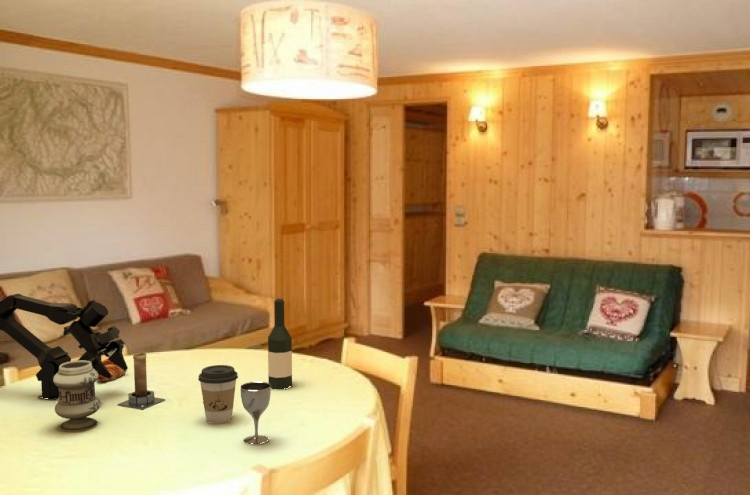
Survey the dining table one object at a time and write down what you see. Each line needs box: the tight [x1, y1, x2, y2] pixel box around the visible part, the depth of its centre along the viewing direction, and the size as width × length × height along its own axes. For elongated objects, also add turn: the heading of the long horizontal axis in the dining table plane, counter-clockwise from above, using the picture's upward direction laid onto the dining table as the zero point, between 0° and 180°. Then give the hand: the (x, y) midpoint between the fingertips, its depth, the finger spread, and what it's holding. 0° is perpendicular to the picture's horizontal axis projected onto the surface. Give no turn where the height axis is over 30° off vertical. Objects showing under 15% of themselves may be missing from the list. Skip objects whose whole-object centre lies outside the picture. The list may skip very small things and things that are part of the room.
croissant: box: [97, 358, 128, 382], centre depth 253 cm, size 21×10×8 cm, turn 3°
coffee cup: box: [197, 364, 239, 425], centre depth 208 cm, size 11×11×15 cm
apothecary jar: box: [53, 360, 102, 433], centre depth 202 cm, size 12×12×18 cm
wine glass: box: [240, 381, 272, 445], centre depth 192 cm, size 8×8×15 cm
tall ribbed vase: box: [132, 352, 148, 397], centre depth 222 cm, size 4×4×15 cm
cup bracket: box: [117, 389, 166, 411], centre depth 223 cm, size 10×10×3 cm
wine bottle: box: [267, 297, 293, 390], centre depth 239 cm, size 8×8×30 cm
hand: (118, 373), depth 224 cm, fingers open, 9 cm apart
